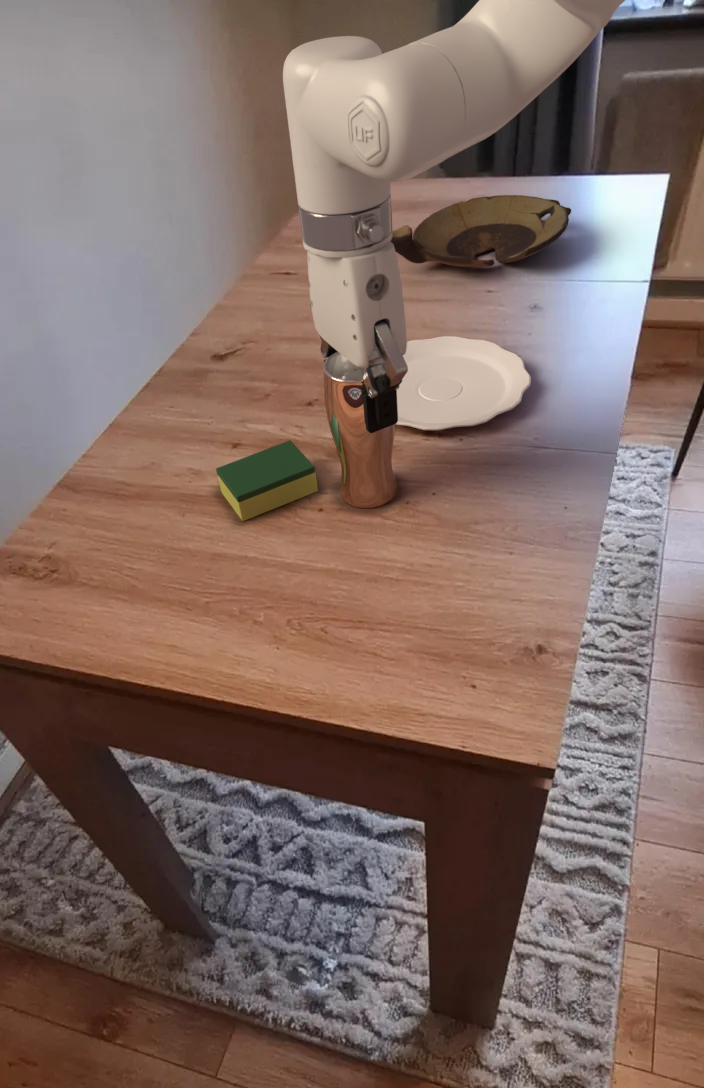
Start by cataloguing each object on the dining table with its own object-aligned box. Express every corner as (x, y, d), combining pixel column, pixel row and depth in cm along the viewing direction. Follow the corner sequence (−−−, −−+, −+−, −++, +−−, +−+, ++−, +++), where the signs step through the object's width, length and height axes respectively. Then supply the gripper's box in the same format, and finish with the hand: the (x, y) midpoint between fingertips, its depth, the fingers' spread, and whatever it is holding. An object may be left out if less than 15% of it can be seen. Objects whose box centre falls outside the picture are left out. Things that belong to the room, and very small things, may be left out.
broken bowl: (580, 281, 114) (587, 225, 108) (370, 295, 118) (366, 242, 112) (560, 220, 129) (565, 169, 124) (375, 235, 133) (373, 186, 128)
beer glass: (328, 507, 84) (311, 380, 73) (346, 468, 88) (332, 343, 78) (393, 514, 82) (384, 384, 71) (407, 474, 86) (402, 346, 76)
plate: (496, 454, 87) (497, 441, 86) (326, 422, 95) (325, 410, 94) (549, 360, 99) (550, 348, 98) (395, 339, 108) (394, 327, 106)
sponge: (294, 464, 90) (290, 439, 88) (318, 491, 86) (314, 466, 84) (221, 492, 88) (215, 468, 85) (242, 521, 84) (236, 497, 81)
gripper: (443, 240, 61) (443, 437, 73) (336, 183, 72) (352, 361, 85) (357, 268, 59) (372, 465, 71) (262, 205, 70) (289, 384, 83)
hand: (361, 407), depth 78 cm, fingers closed on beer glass, 7 cm apart
